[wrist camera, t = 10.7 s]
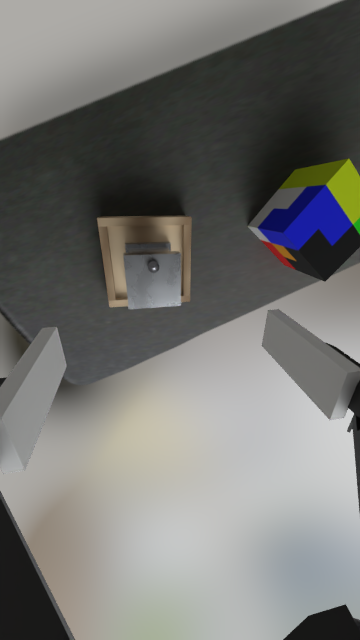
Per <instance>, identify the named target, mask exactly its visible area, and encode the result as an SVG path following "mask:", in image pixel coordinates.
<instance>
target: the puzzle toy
mask: <svg viewBox="0 0 360 640" xmlns="http://www.w3.org/2000/svg"><path fill="white" fill-rule="evenodd" d="M248 227H249V228H250V229H251V230H252V231H253V232H254V233H255V234H256V236H257V237H258V238H259V239H260V240H261V241H262V242H263V243H264V244H265V245H266V246H267V247H268V248H269V249H270V250H271V251H272V253H273V254H274V255H275V256H276V257H277V258H278V259H279V260H280V261H281V262H282V263H283V264H284V265H285V266H288V267H290V268H293V269H295V270H298V271H300V272H303V273H305V274H308V275H310V276H313V277H315V278H318V279H320V280H323V281H326V280H327V279H328V278H329V277H330V276H331V275H332V274H333V273H334V272H335V271H336V270H337V269H338V268H339V267H340V266H341V265H342V264H343V263H344V262H345V261H346V260H347V259H348V258H349V257H350V256H351V255H352V254H353V253H354V252H355V251H356V250H357V249H358V248H359V247H360V176H359V174H358V173H357V171H356V169H355V168H354V166H353V164H352V163H351V161H350V159H344V160H340V161H335V162H330V163H325V164H320V165H315V166H310V167H306V168H301V169H296V170H294V171H293V173H292V174H291V175H290V176H289V177H288V179H287V180H286V181H285V182H284V183H283V184H282V186H281V187H280V188H279V189H278V190H277V192H276V193H275V194H274V195H273V196H272V198H271V199H270V200H269V201H268V202H267V203H266V205H265V206H264V207H263V208H262V209H261V211H260V212H259V213H258V214H257V215H256V217H255V218H254V219H253V220H252V221H251V222H250V224H249V225H248Z"/></svg>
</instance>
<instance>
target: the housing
mask: <svg viewBox="0 0 360 640" xmlns="http://www.w3.org/2000/svg"><path fill="white" fill-rule="evenodd" d="M125 250H126V253H124V254H123V258H124V267H125V277H126V287H127V297H128V306H129V309H140V308H154V307H168V306H181V253H180V252H179V251H171V243H170V242H135V243H125Z"/></svg>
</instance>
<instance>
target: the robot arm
mask: <svg viewBox="0 0 360 640" xmlns="http://www.w3.org/2000/svg"><path fill="white" fill-rule="evenodd" d="M262 346H263V347H264V349H265V350H266V351H267V352H268V353H269V354H270V355H271V356H272V357H273V358H274V359H275V360H276V362H277V363H278V364H279V365H280V366H281V367H282V368H283V369H284V370H285V372H287V374H288V375H289V376H290V377H291V378H292V379H293V380H294V381H295V382H296V383H297V385H298V386H299V387H300V388H301V389H302V390H303V391H304V392H305V393H306V394H307V396H309V398H310V399H311V400H312V401H313V402H314V403H315V404H316V405H317V406H318V408H319V409H320V410H321V411H322V412H323V413H324V414H325V415H326V416H327V417H328V419H330V420H333V419H339V418H344V416H345V415H346V412H347V410H348V408H349V409H350V410H351V411H353V412H354V416H353V418H352V421H351V423H350V425H349V427H348V430H347V431H348V432H350V431H351V429H353V437H354V449H355V461H356V473H357V486H358V498H359V511H360V364H359V363H358V362H356V361H355V360H354V359H352V358H350V357H349V356H348V355H346V354H344V352H342V351H341V350H339V349H338V348H336V347H334V346H332V345H330V344H328V343H325V342H323V341H322V340H320V339H319V338H318V337H316V336H315V335H313V334H312V333H311V332H309V331H308V330H307V329H305V328H304V327H302V326H301V325H300V324H298V323H297V322H295V321H294V320H293V319H291V318H289V317H288V316H287V315H286V314H284V313H283V312H281V311H280V310H279V309H277V310H268V313H267V319H266V325H265V330H264V336H263V342H262ZM66 367H67V365H66V361H65V357H64V353H63V349H62V345H61V342H60V338H59V334H58V330H57V327H49V328H42V329H41V331H40V332H39V334H38V335H37V336H36V338H35V339H34V341H33V342H32V343H31V345H30V346H29V348H28V349H27V350H26V352H25V353H24V354H23V356H22V357H21V359H20V360H19V361H18V363H17V364H16V366H15V367H14V368H13V370H12V371H11V373H10V374H9V375H8V377H7V378H0V469H1V471H2V473H3V474H6V473H11V472H18V471H23V470H25V469H26V467H27V464H28V462H29V459H30V456H31V454H32V451H33V449H34V447H35V444H36V441H37V439H38V437H39V434H40V432H41V429H42V427H43V424H44V422H45V419H46V416H47V414H48V411H49V409H50V407H51V404H52V401H53V399H54V397H55V394H56V391H57V389H58V387H59V384H60V382H61V379H62V377H63V374H64V372H65V369H66ZM0 640H75V639H74V637H73V635H72V633H71V631H70V629H69V627H68V625H67V623H66V621H65V619H64V617H63V615H62V613H61V611H60V609H59V607H58V605H57V603H56V601H55V599H54V597H53V595H52V593H51V591H50V589H49V587H48V585H47V583H46V581H45V579H44V577H43V575H42V573H41V571H40V569H39V567H38V565H37V563H36V561H35V559H34V557H33V555H32V553H31V551H30V549H29V547H28V545H27V543H26V541H25V539H24V537H23V535H22V533H21V531H20V529H19V527H18V525H17V523H16V521H15V520H14V517H13V515H12V513H11V511H10V509H9V507H8V505H7V503H6V501H5V499H4V497H3V495H2V493H1V492H0ZM283 640H360V620H358V619H355V618H353V617H352V615H351V613H350V612H349V610H348V608H347V606H346V605H342V606H339V607H336V608H333V609H330V610H326V611H323V612H320V613H316V614H313V615H310V616H308V617H307V618H306V619H305V620H304V621H303V622H301V623H300V624H299V626H297V627H296V628H295V629H294V630H293V631H292V632H291V633H290V634H289V635H288V636H287V637H286V638H285V639H283Z"/></svg>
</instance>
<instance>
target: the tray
mask: <svg viewBox="0 0 360 640" xmlns="http://www.w3.org/2000/svg"><path fill="white" fill-rule="evenodd" d="M97 221H98V228H99V235H100V243H101V250H102V257H103V264H104V271H105V278H106V285H107V292H108V300H109V307H120V306H128V297H127V287H126V277H125V267H124V258H123V254H124V253H126V250H125V243H135V242H170V243H171V251H179V252H180V253H181V302H190V269H191V217H189V216H101V217H98V218H97Z"/></svg>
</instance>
